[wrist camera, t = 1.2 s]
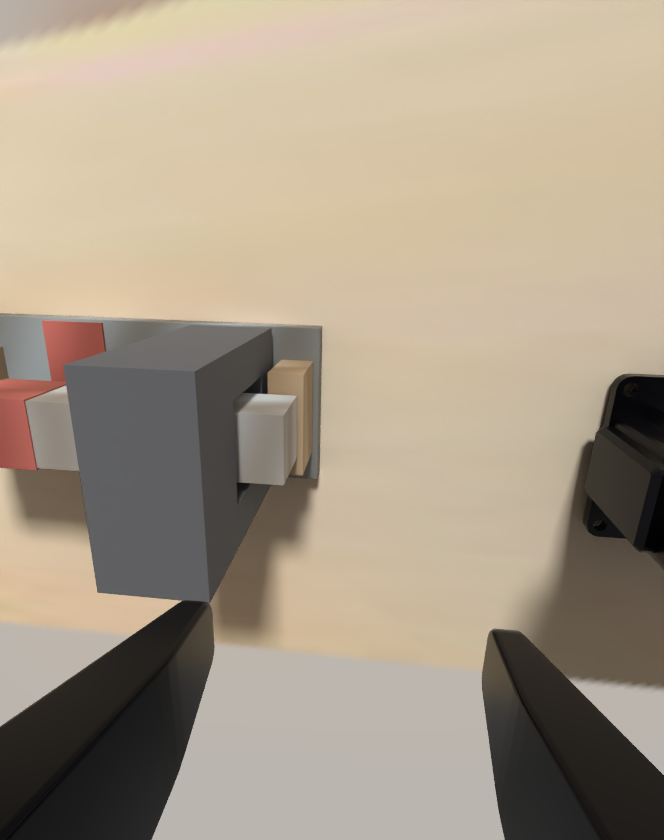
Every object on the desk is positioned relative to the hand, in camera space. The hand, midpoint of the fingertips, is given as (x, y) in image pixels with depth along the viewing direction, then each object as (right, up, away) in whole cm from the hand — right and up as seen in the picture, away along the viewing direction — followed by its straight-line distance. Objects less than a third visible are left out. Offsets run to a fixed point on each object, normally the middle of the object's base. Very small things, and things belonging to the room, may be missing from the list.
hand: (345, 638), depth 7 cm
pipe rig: (-8, +4, +13) cm, 15 cm away
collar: (-4, +4, +11) cm, 13 cm away
